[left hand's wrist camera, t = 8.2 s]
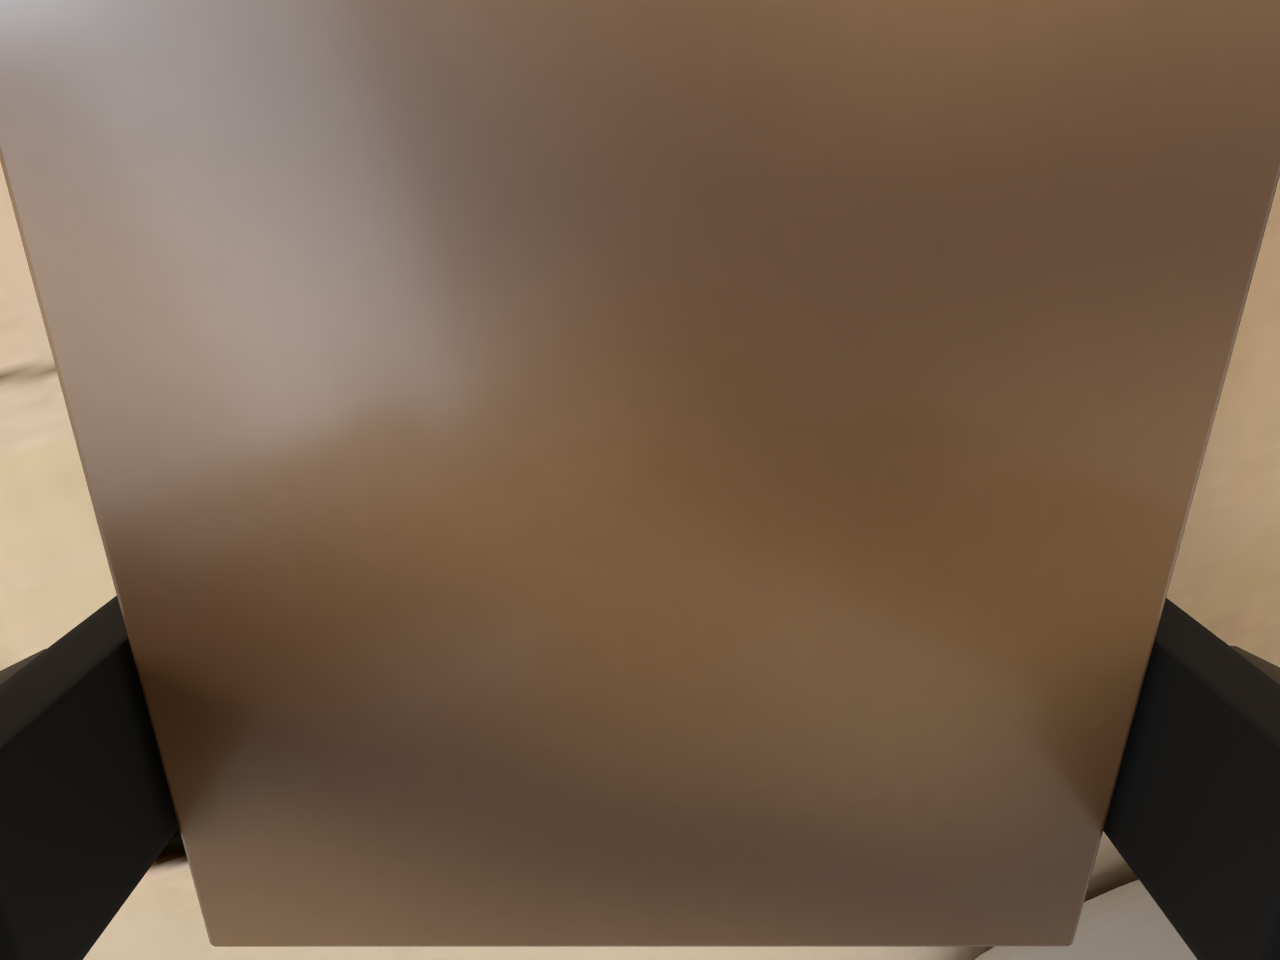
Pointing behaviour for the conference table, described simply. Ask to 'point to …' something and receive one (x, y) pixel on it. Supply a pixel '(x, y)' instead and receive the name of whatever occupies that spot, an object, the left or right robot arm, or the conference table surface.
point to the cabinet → (641, 439)
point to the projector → (1111, 932)
